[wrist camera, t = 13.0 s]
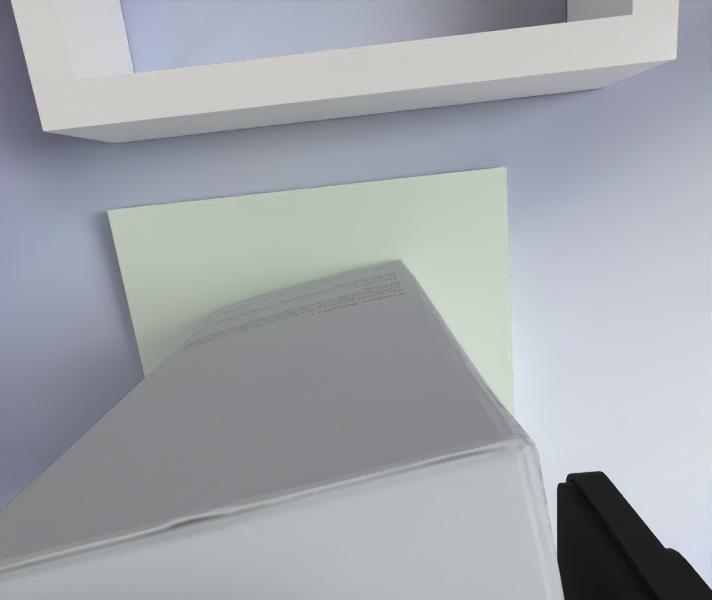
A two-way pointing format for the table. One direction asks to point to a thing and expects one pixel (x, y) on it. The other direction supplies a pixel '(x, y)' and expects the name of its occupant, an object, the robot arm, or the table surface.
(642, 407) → the table surface
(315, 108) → the bin
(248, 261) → the pad
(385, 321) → the supplement box
